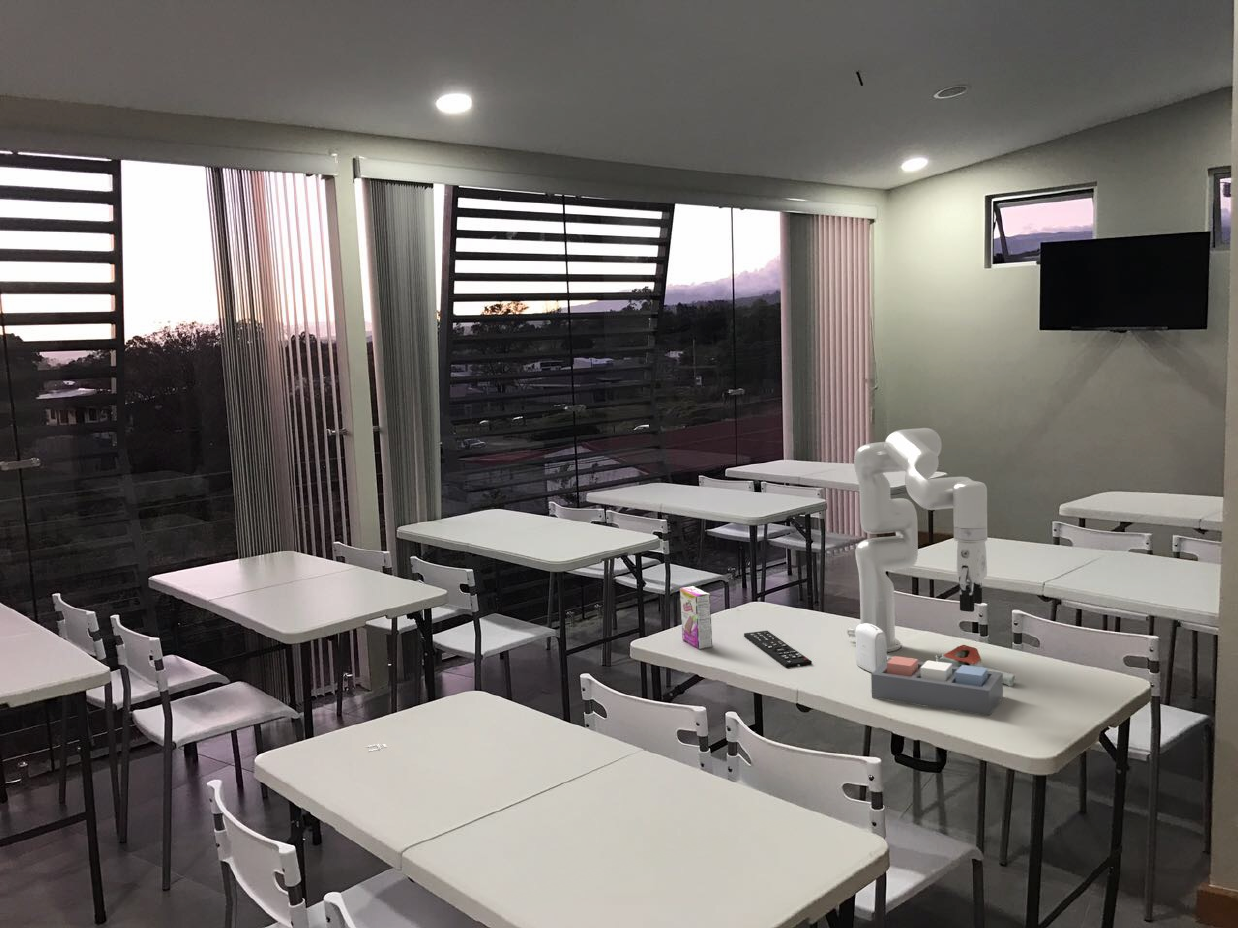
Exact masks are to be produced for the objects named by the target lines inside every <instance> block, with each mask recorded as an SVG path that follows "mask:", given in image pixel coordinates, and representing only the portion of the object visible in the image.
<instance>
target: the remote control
mask: <svg viewBox="0 0 1238 928" xmlns="http://www.w3.org/2000/svg"><path fill="white" fill-rule="evenodd" d="M743 638H745V639H746V640H747V641H749V642H750V643H752V644H753V646H756V647H757V648H758V649H760V650H761V651H762V652H763V653H765V654H766V655H768V656H769V657H770V658H771V659H773V660H774V661H775V662H776V663H778V664H779V665H781V666H782V667H784V668H785V669H790V668H797V667H806V666H812V665H813V663H812V660H811V659H809V658H808V657H806V656H805V655H803V654H802V653H801V652H799V651H797V650H796V649H795V648H793V647H792V646H790V645H789V644H787V643H786V642H784V641H783V640H782V639H780V638H779V637H777V636H776V635H774V634H773V633H772V632H770V631H769V630H761V631H752V632H745V633H743Z"/></svg>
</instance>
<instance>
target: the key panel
mask: <svg viewBox="0 0 1238 928" xmlns="http://www.w3.org/2000/svg"><path fill="white" fill-rule="evenodd" d="M892 658H893V657H889V658H887V660H886V661H885V662H884V663H883V664H882V665H881V666H880V667H879V668H878V669H876V670H875V671H874V672H873V673H872V672H871V675H870V676H871V698H873V699H879V700H886V701H893V702H897V703H898V702H900V703H903V704H904V703H905V704H911V705H919V706H925V707H931V708H938V709H943V710H949V711H954V712H955V711H957V712H961V713H968V714H969V713H970V714H976V715H982V716H988V717H989V716H990V715H991V714H992V712H993V711H994V709H995V708H996V707H997V705H998V704H999V703H1000V701H1001V700H1002V698H1003V696H1004V694H1003V693H1004V688H1003V687H1004V686H1003V685H1004V683H1003V673H1001V672H1002V671H1001V672H993V671H988V680H987V681H986V683H985V684H984V685H983V686H982V687H979V686H972V685H965V684H958V683H956V671H957V670H958V669H959V668H960V667H961V666H959V667H956V666H952V675H951V677H950V678H949V679H948V680H947V681H946V682H944V681H936V680H929V679H922V678H921V667H922V666H923V665H924V664H925V663H926V662H927V661H925V662H924V661H918V670H917V671H916V672H915V673H914V674H913V675H912V676H911V677H908V676H901V675H894V674H887V662H888V661H889V660H891V659H892Z"/></svg>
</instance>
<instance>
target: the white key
mask: <svg viewBox="0 0 1238 928" xmlns="http://www.w3.org/2000/svg"><path fill="white" fill-rule="evenodd" d="M925 662H926V663H925V664H924V665H923V666H922V667H921V678H922V679H929V680H936V681H944V682H946V681H947V680H948V679H949V678H950V677H951V675H952V663H944V662H936V661H934V660H926V661H925Z"/></svg>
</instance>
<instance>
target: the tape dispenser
mask: <svg viewBox="0 0 1238 928" xmlns="http://www.w3.org/2000/svg"><path fill="white" fill-rule="evenodd" d="M934 657H935V658H936V659H935V660H936V662H944V663H952V666H956V667H961V666H962V665H967V666H974V667H982V668H986V667H984V666H983V665H982V658H981V655H980V653H979V650H978V648H976V647H972V646H969V645H966V644H961V645H960V646H956V647H955V648H953V649H951V650H950V651H949V650H948V651H947V652H945V653H943V654H940V655H939V654H936V655H935V656H934ZM987 668H988V671H993V672H1001V673H1003V685H1006V686H1007V687H1008V686H1009V687H1013V685H1014V683H1015V680H1016V676H1015V674H1014V673H1007V672H1005V671H1001V670H996V669H994V668H989V667H987Z"/></svg>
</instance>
